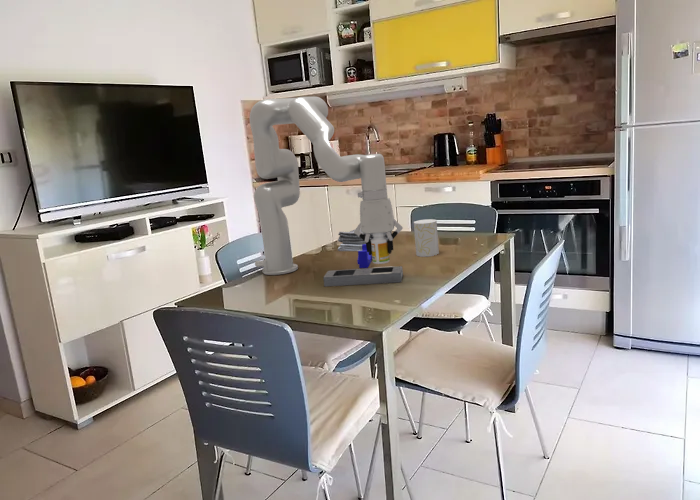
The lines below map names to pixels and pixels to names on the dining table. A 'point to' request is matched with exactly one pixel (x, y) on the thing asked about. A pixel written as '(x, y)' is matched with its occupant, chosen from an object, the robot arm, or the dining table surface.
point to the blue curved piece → (364, 257)
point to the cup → (426, 237)
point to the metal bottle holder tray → (363, 276)
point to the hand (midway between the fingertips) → (380, 252)
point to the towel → (351, 241)
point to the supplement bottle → (379, 248)
